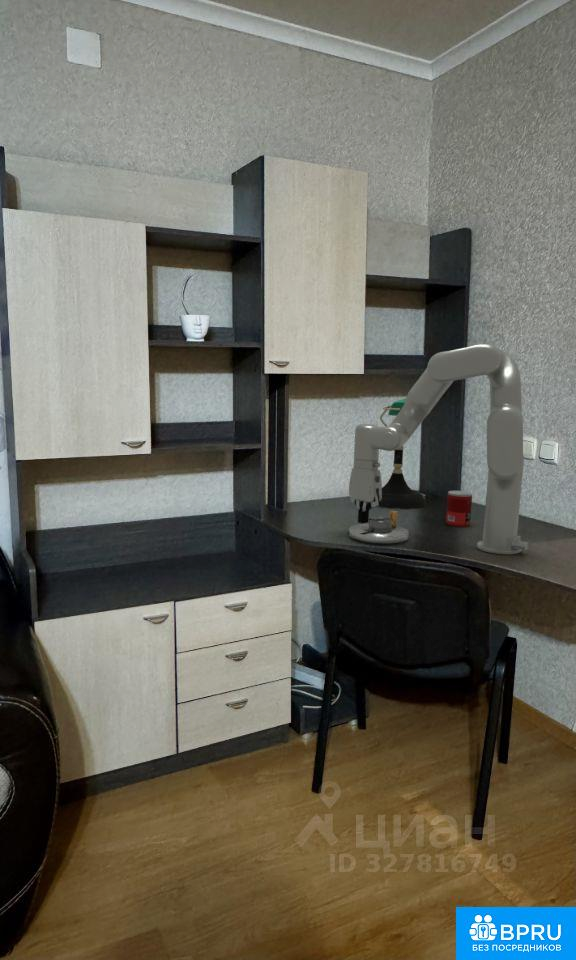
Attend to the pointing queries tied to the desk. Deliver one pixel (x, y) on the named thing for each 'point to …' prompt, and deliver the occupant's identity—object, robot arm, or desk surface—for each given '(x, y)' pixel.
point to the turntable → (365, 535)
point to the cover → (380, 525)
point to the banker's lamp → (399, 476)
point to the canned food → (459, 508)
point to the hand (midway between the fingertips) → (363, 522)
